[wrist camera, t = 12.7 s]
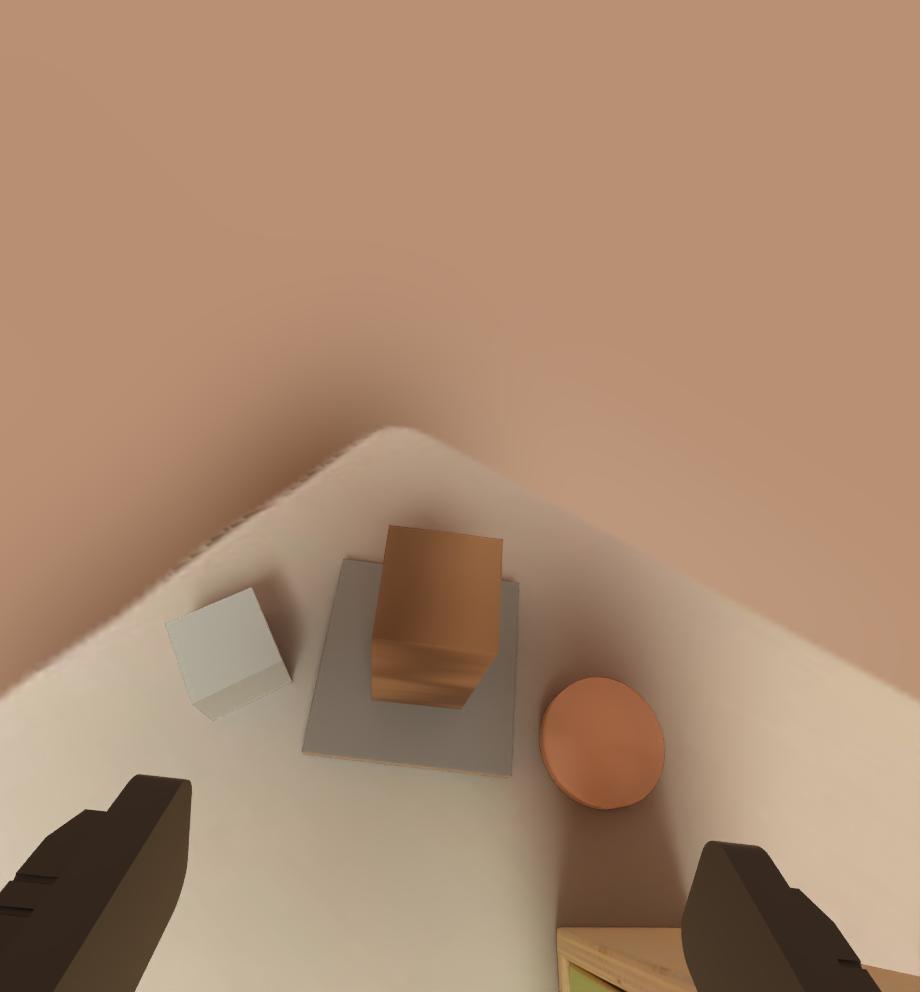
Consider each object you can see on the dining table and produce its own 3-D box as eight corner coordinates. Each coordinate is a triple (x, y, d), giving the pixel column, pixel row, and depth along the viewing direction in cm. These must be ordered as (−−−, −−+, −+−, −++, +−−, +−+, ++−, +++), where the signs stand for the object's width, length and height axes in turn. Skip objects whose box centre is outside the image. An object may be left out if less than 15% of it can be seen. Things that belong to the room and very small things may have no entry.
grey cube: (264, 615, 31) (251, 586, 28) (292, 682, 30) (282, 660, 26) (188, 649, 30) (164, 623, 26) (213, 721, 28) (191, 704, 25)
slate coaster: (515, 589, 34) (518, 583, 33) (507, 778, 29) (511, 775, 28) (344, 566, 33) (343, 558, 32) (303, 754, 28) (301, 751, 27)
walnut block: (467, 622, 31) (502, 539, 23) (461, 709, 29) (498, 651, 20) (384, 613, 31) (389, 525, 23) (371, 700, 29) (371, 637, 20)
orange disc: (625, 672, 32) (635, 665, 31) (671, 790, 29) (684, 787, 28) (524, 698, 31) (530, 692, 29) (562, 824, 28) (571, 823, 27)
